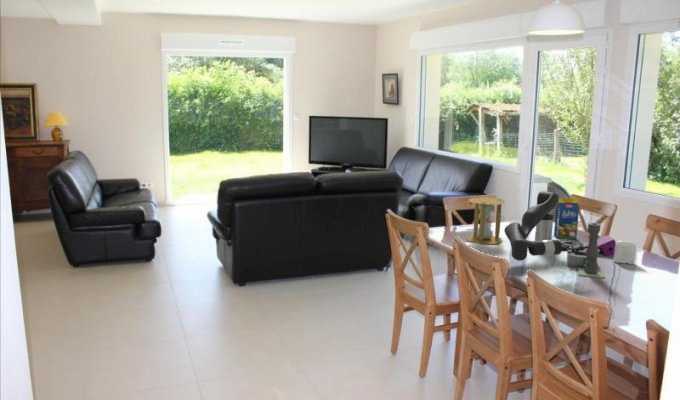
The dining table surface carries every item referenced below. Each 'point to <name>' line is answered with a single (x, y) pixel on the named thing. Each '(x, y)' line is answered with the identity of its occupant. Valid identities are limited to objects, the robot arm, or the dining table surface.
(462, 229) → the dining table surface
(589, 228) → the candle holder
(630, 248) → the photo printer
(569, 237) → the blue food package
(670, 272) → the dining table surface
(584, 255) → the socket block
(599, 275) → the mat
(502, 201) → the hourglass
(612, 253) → the mounting bracket
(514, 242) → the robot arm
